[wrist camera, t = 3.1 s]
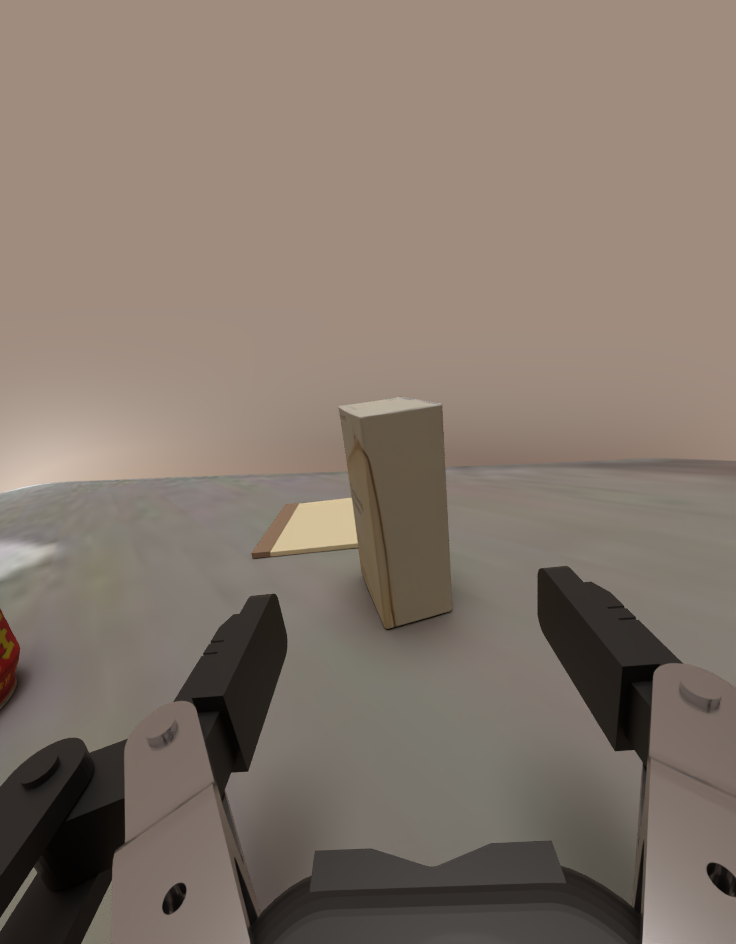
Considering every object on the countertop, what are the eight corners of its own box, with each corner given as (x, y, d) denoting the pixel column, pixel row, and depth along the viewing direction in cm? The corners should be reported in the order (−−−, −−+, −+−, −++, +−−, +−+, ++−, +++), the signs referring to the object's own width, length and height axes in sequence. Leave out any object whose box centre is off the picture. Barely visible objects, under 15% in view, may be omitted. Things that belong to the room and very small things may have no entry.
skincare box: (361, 575, 25) (334, 406, 22) (418, 560, 26) (401, 395, 23) (386, 634, 19) (354, 415, 16) (460, 612, 20) (444, 400, 17)
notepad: (403, 495, 39) (403, 491, 39) (411, 541, 29) (411, 536, 29) (286, 508, 40) (285, 504, 40) (252, 558, 30) (251, 553, 30)
